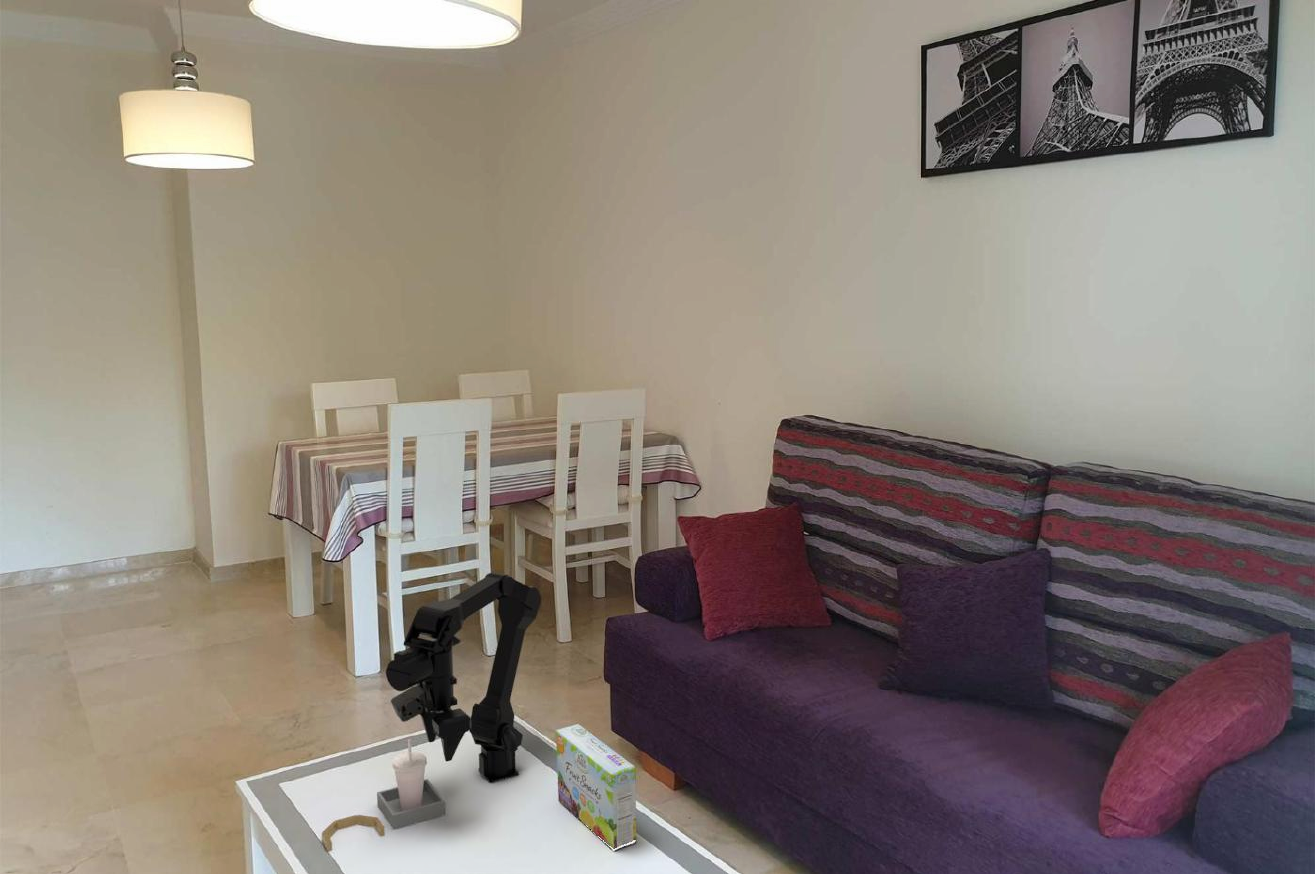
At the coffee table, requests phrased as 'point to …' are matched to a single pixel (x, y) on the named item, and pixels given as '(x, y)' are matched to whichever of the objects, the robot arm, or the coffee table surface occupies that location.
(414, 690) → the robot arm
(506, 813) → the coffee table surface
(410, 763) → the smoothie
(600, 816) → the snack box
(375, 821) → the collar
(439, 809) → the tray
